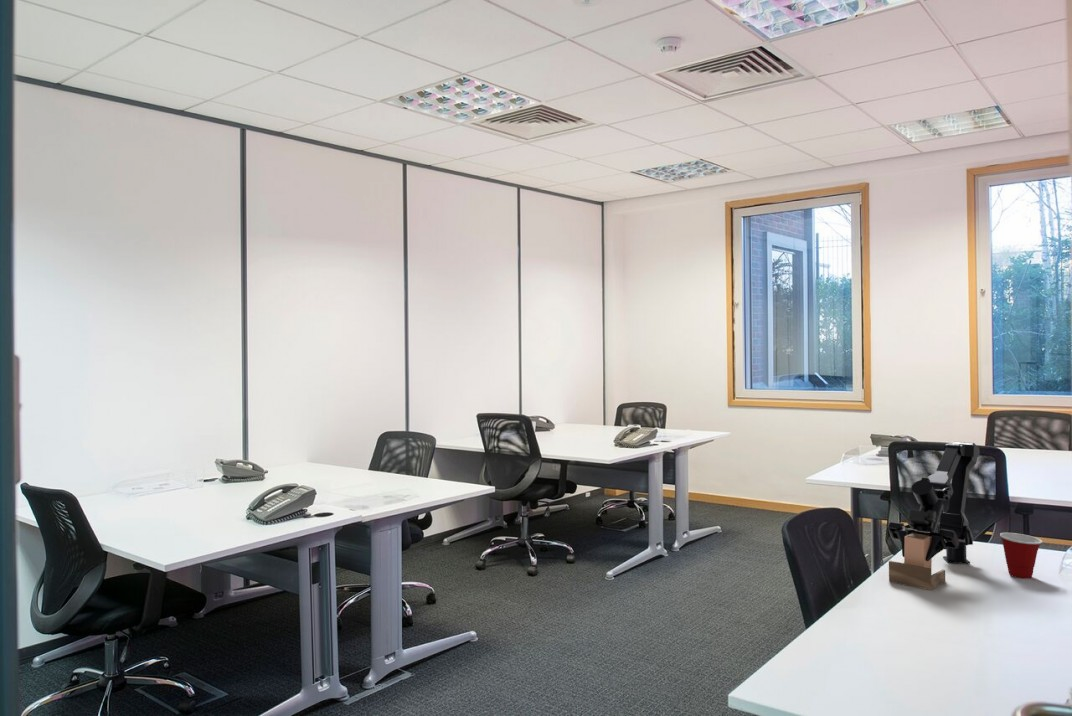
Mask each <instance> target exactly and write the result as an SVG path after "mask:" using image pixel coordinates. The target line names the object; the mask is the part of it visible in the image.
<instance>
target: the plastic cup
mask: <svg viewBox="0 0 1072 716" xmlns="http://www.w3.org/2000/svg"><path fill="white" fill-rule="evenodd" d="M999 537H1000V538H1001V542H1002V546H1003V552H1004V558H1005V562H1006V566H1007V571H1008V575H1009V576H1010V577H1014V578H1017V579H1027V580H1028V579H1032V576H1033V575H1034V574H1033V573H1034V568H1035V566H1036V560H1037V556H1038V551H1039V548H1040V546H1041V544H1042V543H1043V540H1042V539H1040V538H1038V537H1036V536H1032V535H1028V534H1023V533H1015V532H1000V534H999Z"/></svg>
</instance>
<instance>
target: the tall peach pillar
mask: <svg viewBox="0 0 1072 716" xmlns="http://www.w3.org/2000/svg"><path fill="white" fill-rule="evenodd" d="M931 540H932V537H930V536H927V535H922V534H916V533H912V534H909V535H907V536H905V545H904V557H903V558H904V559H903V561H904V562H903V563H905V564H910V565H915V566H921V567H926V568H931V570H932V563H933V561H932V559H933V558H931V559H930V560H929V561H926V555H927V552H928V550H929V547H930V544H931Z"/></svg>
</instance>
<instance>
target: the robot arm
mask: <svg viewBox="0 0 1072 716" xmlns="http://www.w3.org/2000/svg"><path fill="white" fill-rule="evenodd" d="M980 452H981V450H980V447H979V446H977V444H976V443H974V442H963V441H953V442H952V443H951V442H949V443H946V444H945V445H944V452H943V454H942V456H941V458H940V461H939V462H938V465H937V467H936V469H935V472H934V473H932V474H931V475H928V476H927V477H923V476H922V477H921V479H919V480H916V481H915V482H914V483H913V484H912V485H911V491H912V493H913V495H914V498H915V499H916V502H917V503H918V504H919V505H920V507H919V510H917V509H909V510H908V514H907V521H910V526H911V527H913V528H910V527H909V528H908V527H906V526H905V524H904V523H903V522H898V521H889V523H888V525H887V530H888V532H889V534H890V536H891V538H893V539H894V540H899V542H901V543H900V544H901V556H902V557H903V558H904V545H905V536H907V535H909V534H912V533H916V534H922V535H927V536H930V537H932V540H931V544H930V547H929V550H928V552H927V555H926V561H929V560H930V559H931V558H932V559H933V558H934V557H935V556H936V555H938V554H939V553H940V552H942V551H943V550H945V551H946V552H945V553H946V555H943V556H942V558H943V560H945V562H947V563H949V564H950V563H952V564H964V565H965V564H968V565H970V564H971V561H970V560H968V559H967V546H970V545H971V546H972V545H974V543H973V542H974V535H973V533H972V530H971V529H970V527H969V526H970V525H969V521H968V518H967V516H966V514H965V509H966V502H967V494H968V489H969V488H968V487H969V480H970V479H969V478H970V473H971V472H970V471H971V469H972V468H974V467H975V466H976V464H977V462H978V458H979V457H980V454H981V453H980ZM942 500H943V501H948V506H947V510H945V511H944V504H943V502H942ZM936 530H937V532H936Z"/></svg>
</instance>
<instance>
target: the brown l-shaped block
mask: <svg viewBox="0 0 1072 716" xmlns="http://www.w3.org/2000/svg"><path fill="white" fill-rule="evenodd" d="M889 581H890V583H895V584H899V583H900V584H899V585H903V584H904V585H903V586H908V585H909V587H914V588H918V589H919V588H920V589H923V590H929V591H932V590H933V589H935V588H937V587H938V586H940V585H942V584H944V583H946V569H943V568H942V569H941V570H939V571H936V572H934V573H933V574H932V569H931V568H926V567H921V566H915V565H910V564H905V563H904V562H897V561H892V560H889V561H888V582H889Z"/></svg>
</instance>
